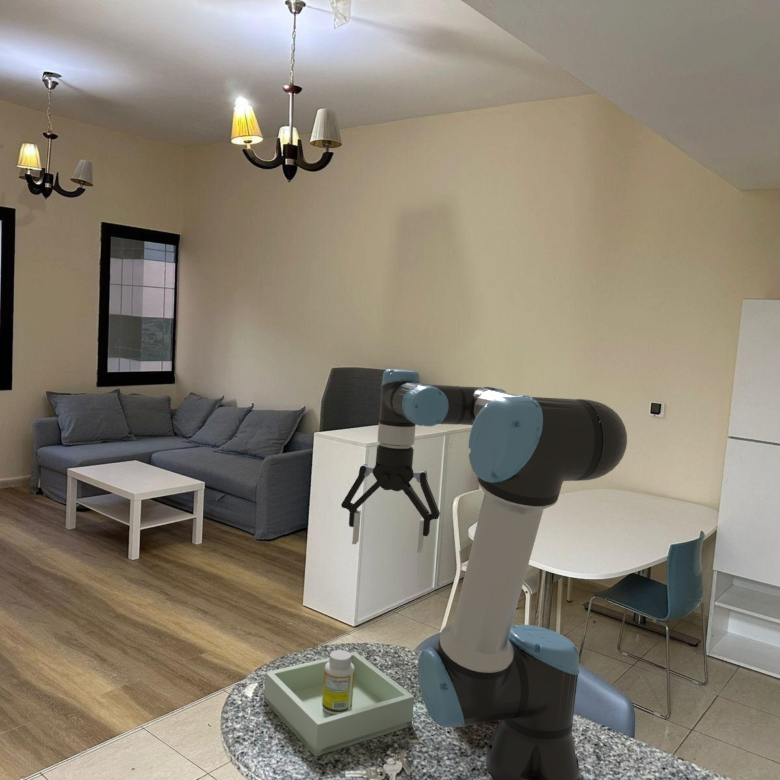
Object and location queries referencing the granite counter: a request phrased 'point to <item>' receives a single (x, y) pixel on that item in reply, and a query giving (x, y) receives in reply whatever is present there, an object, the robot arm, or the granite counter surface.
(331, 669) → the supplement bottle
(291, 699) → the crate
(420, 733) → the granite counter surface
